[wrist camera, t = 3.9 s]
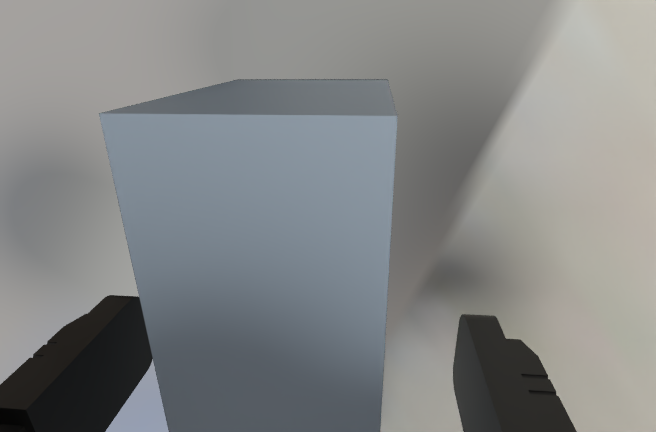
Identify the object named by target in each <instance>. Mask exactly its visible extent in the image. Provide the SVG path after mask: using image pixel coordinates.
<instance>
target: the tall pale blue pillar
mask: <svg viewBox="0 0 656 432" xmlns="http://www.w3.org/2000/svg"><path fill="white" fill-rule="evenodd" d="M99 115H100V120H101V125H102V129H103V133H104V139H105V143H106V148H107V152H108V157H109V161H110V166H111V170H112V174H113V179H114V184H115V189H116V193H117V198H118V202H119V206H120V211H121V216H122V220H123V225H124V230H125V234H126V239H127V242H128V248H129V252H130V256H131V261H132V266H133V270H134V275H135V280H136V284H137V289H138V293H139V298H140V302H141V307H142V311H143V316H144V320H145V325H146V330H147V334H148V339H149V343H150V348H151V352H152V357H153V361H154V366H155V371H156V375H157V380H158V384H159V388H160V393H161V397H162V402H163V407H164V411H165V416H166V421H167V425H168V430H169V432H380V426H381V407H382V389H383V371H384V353H385V334H386V316H387V296H388V279H389V261H390V243H391V242H390V241H391V225H392V207H393V188H394V170H395V151H396V134H397V112H396V109H395V105H394V101H393V97H392V94H391V91H390V86H389V82H388V80H387V79H255V80H254V79H245V80H244V79H238V80H234V81H230V82H226V83H221V84H217V85H214V86H209V87H205V88H202V89H197V90H193V91H189V92H185V93H181V94H177V95H172V96H168V97H164V98H160V99H156V100H152V101H148V102H144V103H140V104H136V105H131V106H127V107H124V108H119V109H115V110H111V111H107V112H103V113H99Z"/></svg>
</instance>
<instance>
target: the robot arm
mask: <svg viewBox="0 0 656 432" xmlns="http://www.w3.org/2000/svg"><path fill="white" fill-rule="evenodd" d="M152 359H153V357H152V352H151V348H150V343H149V339H148V334H147V330H146V325H145V320H144V316H143V311H142V307H141V302H140V298H139V297H133V296H114V295H110V296H107V297H105V298H104V299H103V300H102V301H101V302H100V303H99V304H98V305H97V306H95V307H94V308H93V309H92V310H91V311H90V312H89V313H88V314H85V315H83V316H81V317H80V318H78V319H76V320H74V321H73V322H71V323H69V324H67V325H66V326H64V327H63V328H62V329H61V330H60V331H58V332H57V333H56V334H55V335H54V336H53V337H52V338H51V339H50V340H49V341H48V343H47V345H43V346H42V347H41V348H40V349H39V350H38V351H37V352H36V353H34V356H33V358H29V359H28V360H27V361H26V362H25V363H24V364H22V365H21V366H20V367H19V368H18V369H17V370H16V371H15V372H14V373H13V374H12V375H10V376H9V377H8V378H7V379H6V380H5V381H4V382H3V383H2V384H1V385H0V432H105V431H106V429H107V428H108V427H109V425H110V424H111V422H112V421H113V419H114V418H115V416H116V415H117V414H118V412H119V411H120V409H121V408H122V406H123V405H124V404H125V402H126V400H127V399H128V398H129V396H130V395H131V393H132V392H133V391H134V389H135V388H136V386H137V385H138V383H139V382H140V380H141V379H142V378H143V376H144V375H145V373H146V372H147V370H148V369H149V367H150V364H151V362H152ZM453 382H454V390H455V395H456V400H457V404H458V409H459V413H460V418H461V422H462V427H463V431H464V432H577V431H576V430H575V428H574V426H573V424H572V422H571V420H570V418H569V416H568V414H567V412H566V410H565V408H564V406H563V404H562V402H561V400H560V398H559V396H557V395H556V391H555V389H554V387H553V385H552V383H551V381H550V379H548V375H547V373H546V371H545V369H544V367H543V365H542V363H541V361H540V359H539V357H538V356H537V355H536V354H535V353H534V352H533V351H532V350H531V349H530V348H529V347H527V346H526V345H525V344H524V343H523V342H522V341H521V340H518V339H506V338H505V336H504V334H503V331H502V329H501V327H500V324H499V322H498V320H497V318H496V317H495V316H486V315H466V314H462V315H461V317H460V320H459V327H458V335H457V342H456V350H455V357H454V365H453Z"/></svg>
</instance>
